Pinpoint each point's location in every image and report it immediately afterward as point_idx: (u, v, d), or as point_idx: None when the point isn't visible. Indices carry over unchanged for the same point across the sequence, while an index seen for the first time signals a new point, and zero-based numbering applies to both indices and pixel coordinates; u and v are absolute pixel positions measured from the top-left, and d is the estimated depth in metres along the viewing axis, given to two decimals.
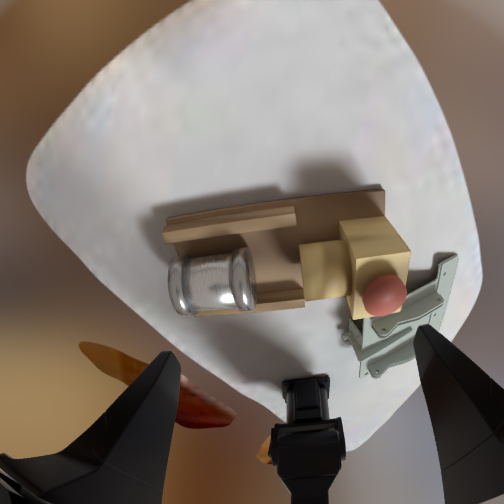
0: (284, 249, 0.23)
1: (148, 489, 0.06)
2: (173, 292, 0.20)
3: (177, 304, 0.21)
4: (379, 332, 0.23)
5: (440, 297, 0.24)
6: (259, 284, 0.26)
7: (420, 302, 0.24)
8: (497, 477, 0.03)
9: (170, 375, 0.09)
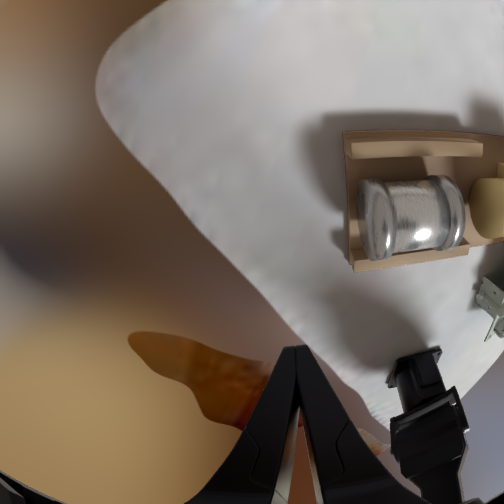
0: None
1: None
2: (385, 219, 0.13)
3: (386, 238, 0.14)
4: None
5: None
6: None
7: None
8: None
9: None
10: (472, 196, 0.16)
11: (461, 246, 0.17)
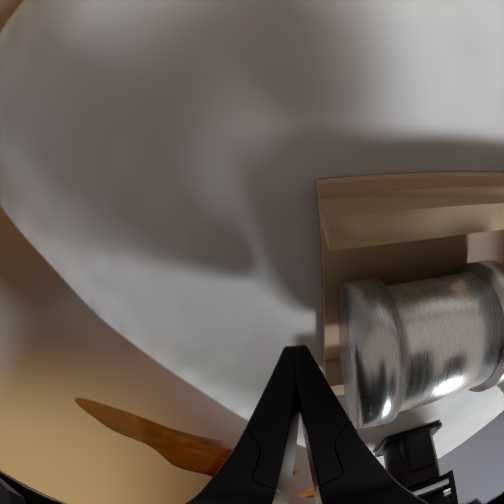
0: None
1: None
2: (382, 396, 0.06)
3: (378, 419, 0.06)
4: None
5: None
6: None
7: None
8: None
9: None
10: None
11: None
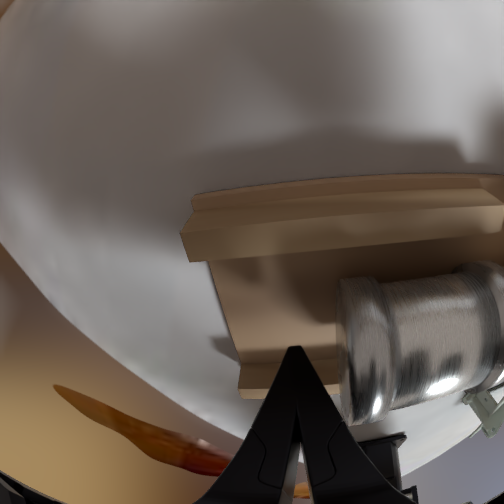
0: None
1: None
2: (371, 393, 0.06)
3: (368, 416, 0.06)
4: None
5: None
6: None
7: None
8: None
9: None
10: None
11: None
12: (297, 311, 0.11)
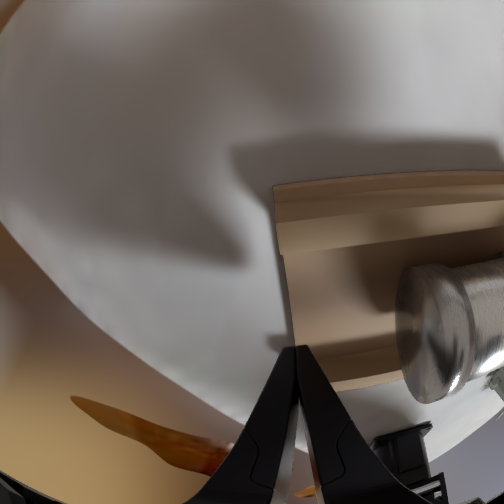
0: None
1: None
2: (458, 365, 0.06)
3: (450, 389, 0.06)
4: None
5: None
6: None
7: None
8: None
9: None
10: None
11: None
12: (362, 302, 0.11)
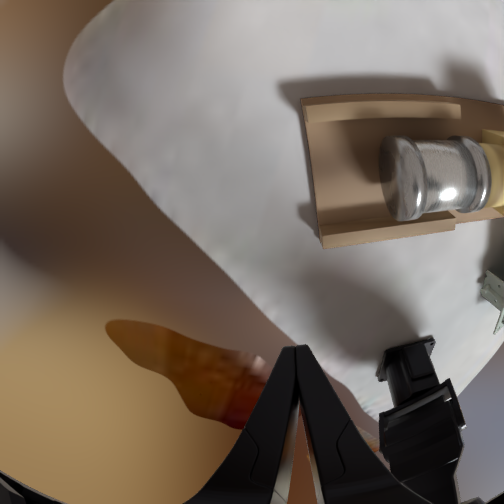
0: None
1: None
2: (416, 171, 0.12)
3: (418, 191, 0.12)
4: None
5: None
6: None
7: None
8: None
9: None
10: None
11: (446, 220, 0.16)
12: (357, 172, 0.17)
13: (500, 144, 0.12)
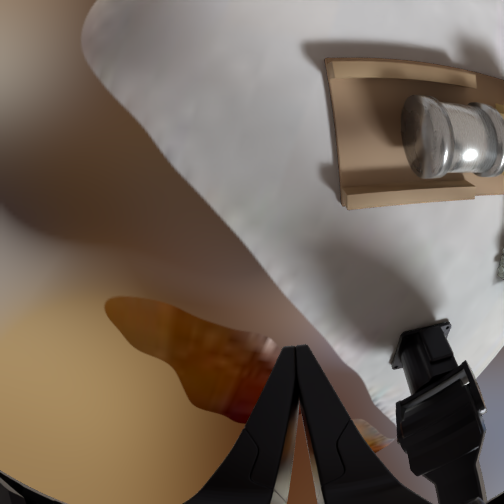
0: None
1: None
2: (442, 123, 0.10)
3: (446, 143, 0.11)
4: None
5: None
6: None
7: None
8: None
9: None
10: None
11: (466, 187, 0.15)
12: (380, 133, 0.15)
13: None
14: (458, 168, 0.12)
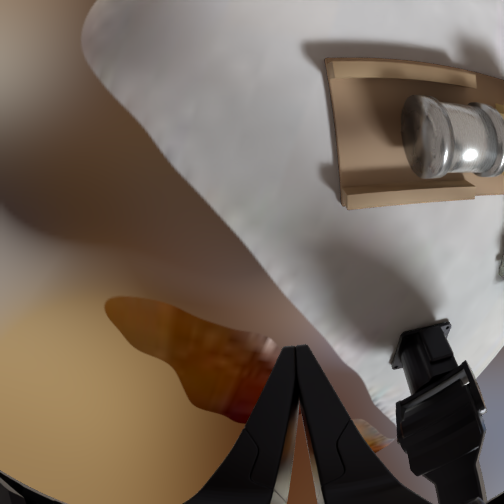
0: None
1: None
2: (442, 123, 0.10)
3: (446, 143, 0.11)
4: None
5: None
6: None
7: None
8: None
9: None
10: None
11: (466, 187, 0.15)
12: (381, 133, 0.15)
13: None
14: (458, 168, 0.12)
